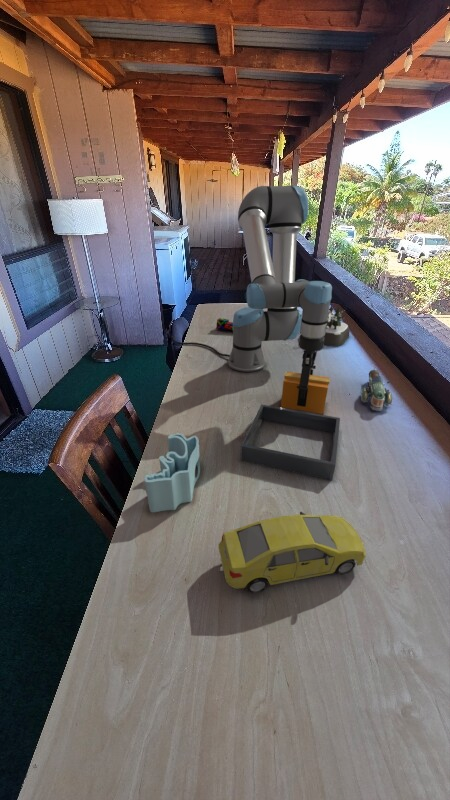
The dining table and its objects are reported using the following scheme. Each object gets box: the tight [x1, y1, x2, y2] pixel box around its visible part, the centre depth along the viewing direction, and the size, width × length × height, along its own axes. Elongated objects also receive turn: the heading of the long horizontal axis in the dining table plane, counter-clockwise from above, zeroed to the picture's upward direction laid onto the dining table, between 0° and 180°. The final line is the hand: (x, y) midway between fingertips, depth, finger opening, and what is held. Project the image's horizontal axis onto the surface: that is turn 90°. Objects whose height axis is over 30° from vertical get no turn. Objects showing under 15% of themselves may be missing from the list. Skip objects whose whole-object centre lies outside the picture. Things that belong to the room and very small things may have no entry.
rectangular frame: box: [240, 404, 341, 481], centre depth 99 cm, size 24×22×5 cm
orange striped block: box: [280, 371, 331, 415], centre depth 116 cm, size 14×8×11 cm, turn 71°
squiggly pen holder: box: [144, 432, 201, 513], centre depth 85 cm, size 18×10×9 cm, turn 175°
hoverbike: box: [360, 366, 393, 413], centre depth 123 cm, size 10×25×8 cm, turn 163°
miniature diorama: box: [324, 305, 351, 347], centre depth 169 cm, size 20×20×17 cm
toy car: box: [218, 511, 367, 594], centre depth 66 cm, size 12×28×10 cm, turn 102°
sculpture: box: [215, 317, 233, 331], centre depth 180 cm, size 9×5×30 cm
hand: (304, 395), depth 117 cm, fingers open, 13 cm apart
